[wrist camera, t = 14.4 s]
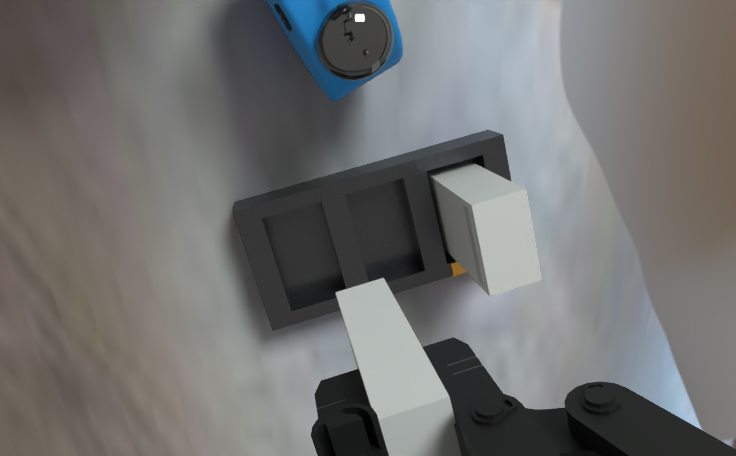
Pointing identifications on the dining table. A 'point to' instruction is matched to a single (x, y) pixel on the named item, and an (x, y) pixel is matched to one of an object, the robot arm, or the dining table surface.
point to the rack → (355, 229)
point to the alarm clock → (341, 40)
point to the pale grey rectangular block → (485, 226)
